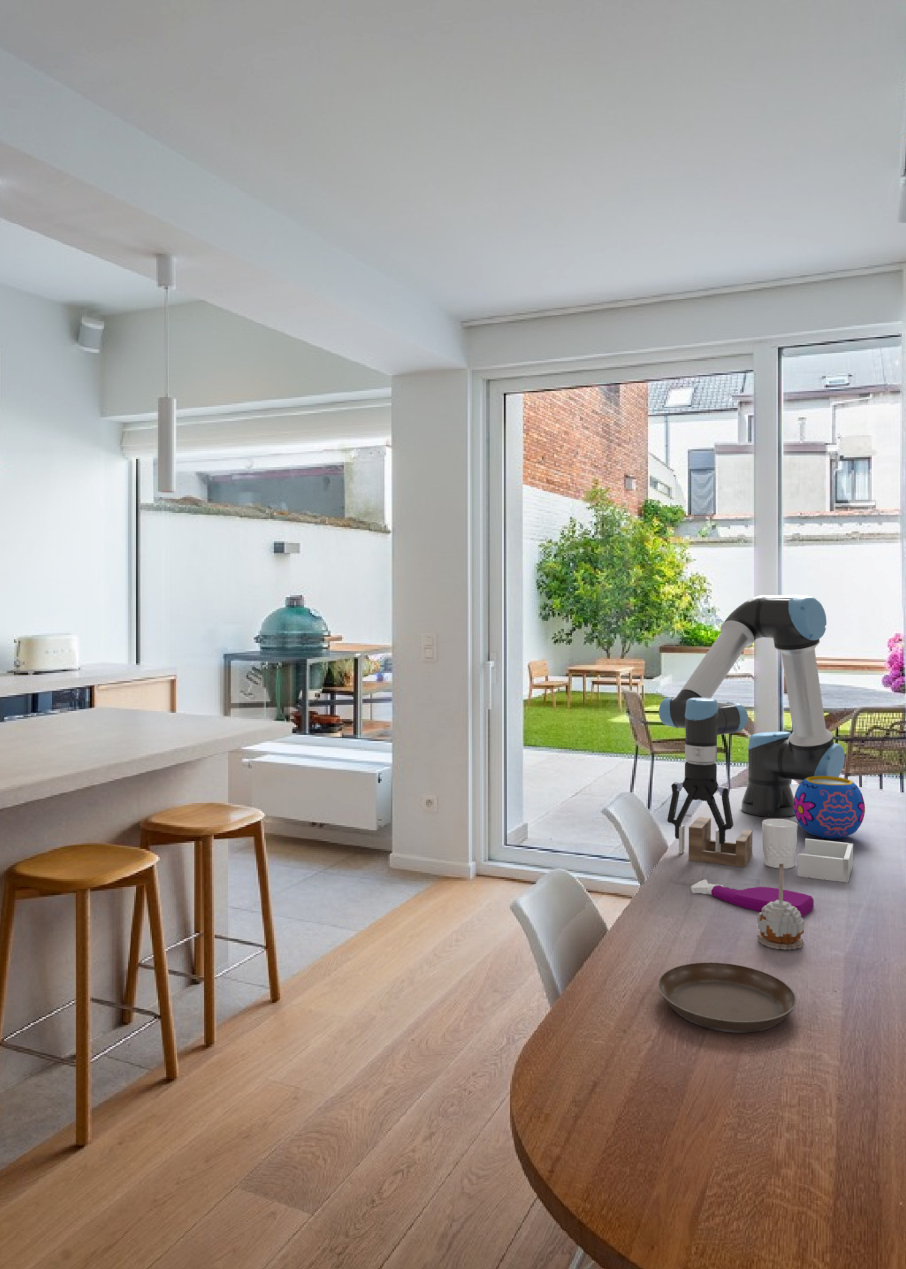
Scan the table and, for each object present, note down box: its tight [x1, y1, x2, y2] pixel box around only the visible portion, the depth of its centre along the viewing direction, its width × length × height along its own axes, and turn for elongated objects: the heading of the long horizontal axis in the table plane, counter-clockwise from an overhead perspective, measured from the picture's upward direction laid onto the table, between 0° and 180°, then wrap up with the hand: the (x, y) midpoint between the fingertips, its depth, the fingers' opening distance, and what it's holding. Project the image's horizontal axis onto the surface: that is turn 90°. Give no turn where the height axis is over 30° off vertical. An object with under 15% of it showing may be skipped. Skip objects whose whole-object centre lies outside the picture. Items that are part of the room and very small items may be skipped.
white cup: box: [761, 818, 799, 870], centre depth 221 cm, size 8×8×10 cm
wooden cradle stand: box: [688, 816, 753, 868], centre depth 228 cm, size 11×13×8 cm
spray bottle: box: [690, 879, 815, 918], centre depth 196 cm, size 3×11×25 cm
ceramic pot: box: [793, 776, 866, 840], centre depth 246 cm, size 18×18×15 cm
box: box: [797, 837, 854, 883], centre depth 217 cm, size 15×10×5 cm
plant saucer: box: [657, 962, 797, 1034], centre depth 147 cm, size 21×21×3 cm
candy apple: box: [756, 863, 805, 951], centre depth 172 cm, size 8×8×15 cm
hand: (699, 854), depth 230 cm, fingers open, 8 cm apart
